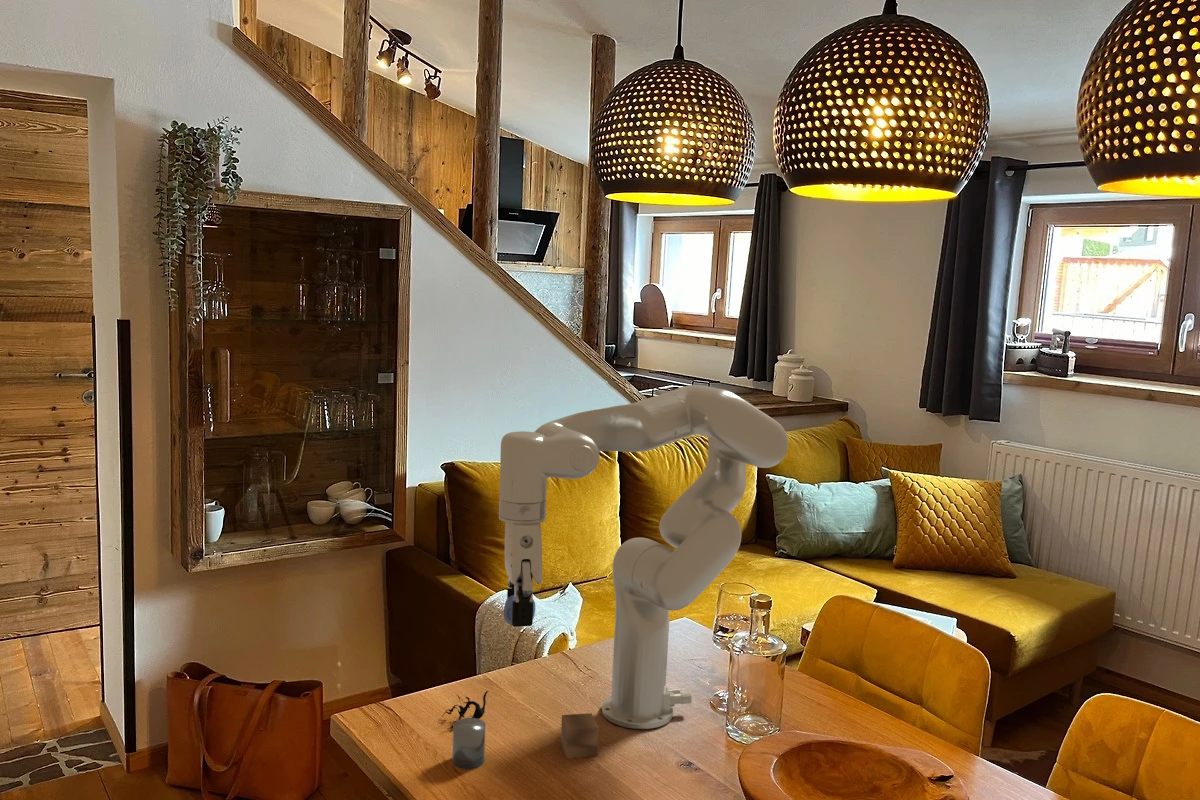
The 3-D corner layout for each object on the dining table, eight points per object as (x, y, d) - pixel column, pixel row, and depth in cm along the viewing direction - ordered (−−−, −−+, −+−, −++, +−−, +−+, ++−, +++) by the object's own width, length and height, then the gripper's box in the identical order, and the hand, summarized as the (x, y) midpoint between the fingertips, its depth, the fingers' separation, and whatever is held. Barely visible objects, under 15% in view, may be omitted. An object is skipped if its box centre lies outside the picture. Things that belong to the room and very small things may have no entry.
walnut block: (590, 741, 156) (591, 713, 155) (597, 756, 151) (598, 727, 151) (560, 743, 155) (561, 715, 154) (566, 759, 150) (567, 729, 149)
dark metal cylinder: (482, 752, 151) (483, 716, 150) (486, 768, 146) (487, 731, 145) (451, 754, 150) (452, 718, 149) (453, 770, 145) (454, 733, 144)
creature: (436, 736, 158) (481, 732, 156) (430, 705, 157) (475, 701, 156) (451, 715, 166) (494, 711, 164) (445, 686, 165) (488, 681, 164)
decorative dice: (512, 616, 154) (513, 592, 154) (535, 619, 153) (536, 596, 153) (503, 624, 151) (503, 600, 150) (526, 628, 150) (527, 604, 149)
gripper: (555, 523, 142) (551, 637, 145) (537, 496, 159) (533, 599, 161) (506, 524, 140) (503, 640, 143) (492, 497, 157) (490, 601, 159)
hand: (519, 617), depth 152 cm, fingers closed on decorative dice, 5 cm apart
